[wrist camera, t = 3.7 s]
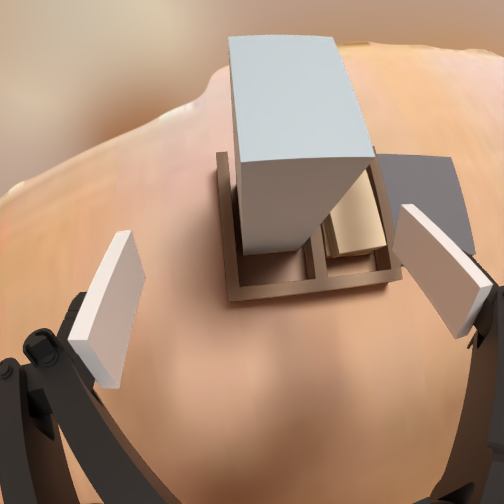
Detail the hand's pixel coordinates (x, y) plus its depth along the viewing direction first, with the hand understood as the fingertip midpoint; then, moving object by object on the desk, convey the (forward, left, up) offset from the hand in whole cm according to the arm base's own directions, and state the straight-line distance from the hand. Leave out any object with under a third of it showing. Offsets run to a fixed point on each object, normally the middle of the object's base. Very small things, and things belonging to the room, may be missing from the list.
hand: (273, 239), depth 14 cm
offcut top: (-8, -5, -12) cm, 16 cm away
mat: (-19, -5, -14) cm, 24 cm away
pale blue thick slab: (-1, -5, -14) cm, 15 cm away
